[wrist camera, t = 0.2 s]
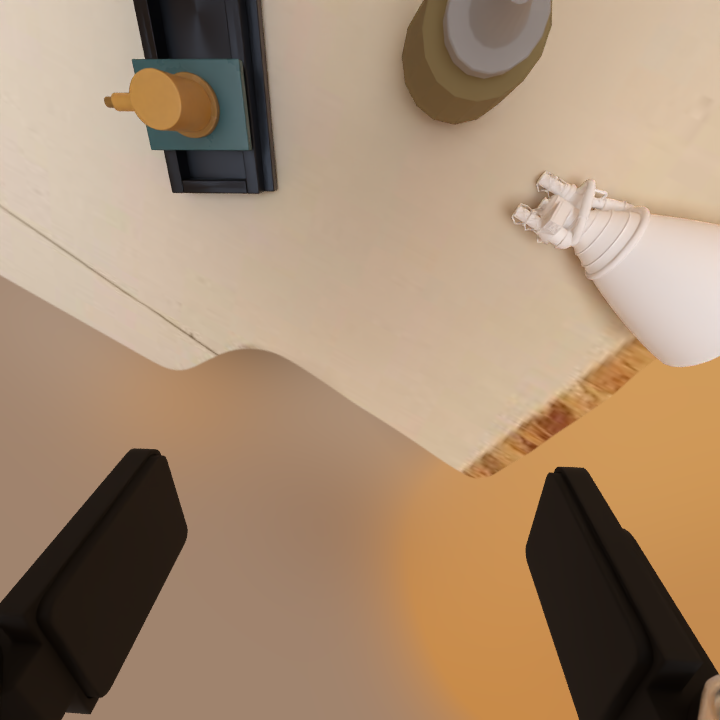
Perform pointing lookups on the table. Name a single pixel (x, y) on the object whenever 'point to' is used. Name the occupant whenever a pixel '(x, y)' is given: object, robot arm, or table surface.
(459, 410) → the table surface
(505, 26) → the squeeze bottle
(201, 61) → the nozzle
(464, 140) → the table surface
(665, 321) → the rocket engine
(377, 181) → the table surface
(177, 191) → the black rectangular tray
